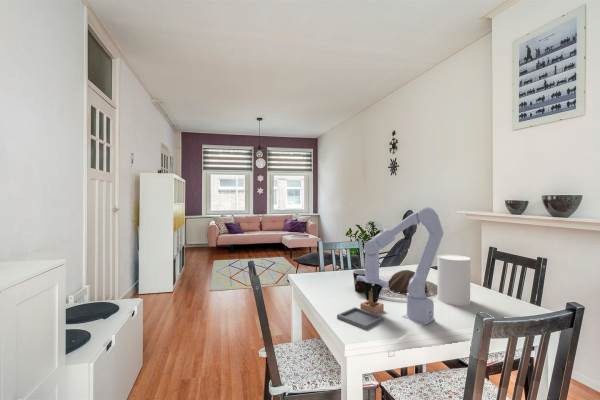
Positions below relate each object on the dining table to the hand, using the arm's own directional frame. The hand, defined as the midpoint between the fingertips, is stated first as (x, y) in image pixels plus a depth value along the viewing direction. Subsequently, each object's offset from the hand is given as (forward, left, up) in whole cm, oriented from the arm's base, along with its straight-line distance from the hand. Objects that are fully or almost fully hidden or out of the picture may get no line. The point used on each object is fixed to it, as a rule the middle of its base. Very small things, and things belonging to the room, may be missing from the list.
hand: (371, 300), depth 125 cm
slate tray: (-2, +11, -4) cm, 12 cm away
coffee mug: (+19, -19, -5) cm, 27 cm away
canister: (-18, -39, -5) cm, 43 cm away
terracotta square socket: (0, 0, -4) cm, 4 cm away
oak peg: (0, 0, -4) cm, 4 cm away
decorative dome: (+5, -39, -5) cm, 40 cm away
